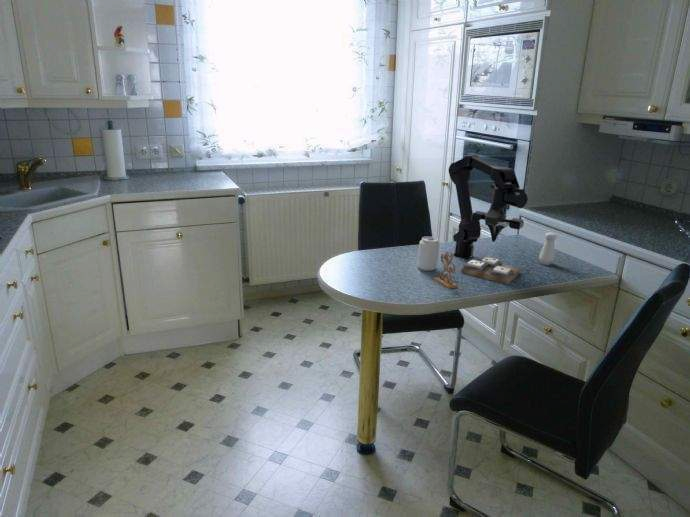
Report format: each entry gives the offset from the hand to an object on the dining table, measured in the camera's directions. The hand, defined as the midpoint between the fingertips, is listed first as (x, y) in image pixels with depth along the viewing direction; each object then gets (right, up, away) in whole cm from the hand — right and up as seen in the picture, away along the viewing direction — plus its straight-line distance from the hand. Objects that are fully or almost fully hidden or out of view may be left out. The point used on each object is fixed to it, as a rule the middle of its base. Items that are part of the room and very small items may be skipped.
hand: (493, 241), depth 197 cm
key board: (-2, -12, -1) cm, 12 cm away
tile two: (-1, -9, +2) cm, 9 cm away
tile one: (+1, -12, -7) cm, 14 cm away
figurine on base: (-22, -16, -15) cm, 31 cm away
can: (-26, -11, -1) cm, 28 cm away
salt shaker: (+25, -9, +13) cm, 30 cm away
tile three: (-8, -10, -2) cm, 13 cm away
